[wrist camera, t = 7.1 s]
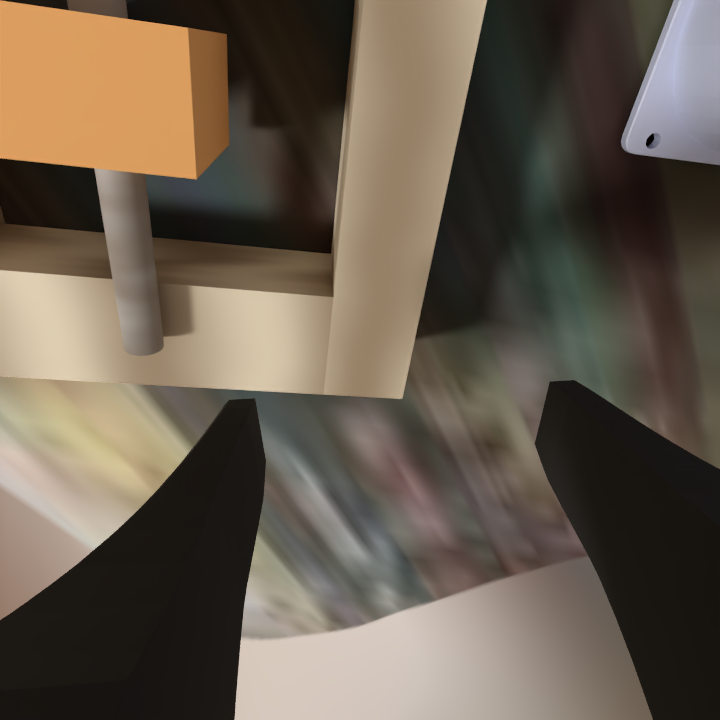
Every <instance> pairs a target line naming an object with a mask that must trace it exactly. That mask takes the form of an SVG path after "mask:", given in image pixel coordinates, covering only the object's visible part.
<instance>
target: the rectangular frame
mask: <svg viewBox="0 0 720 720" xmlns="http://www.w3.org/2000/svg"><path fill="white" fill-rule="evenodd" d="M486 3H487V0H355V6H354V16H353V27H352V37H351V48H350V59H349V69H348V80H347V90H346V101H345V111H344V122H343V133H342V143H341V154H340V164H339V175H338V186H337V196H336V207H335V217H334V228H333V238H332V249H331V254H327V253H316V252H306V251H295V250H284V249H273V248H262V247H252V246H241V245H230V244H219V243H209V242H198V241H187V240H176V239H165V238H155V237H152V231H151V222H150V213H149V204H148V195H147V186H146V177H145V174H143V173H134V172H124V171H115V170H106V169H96V168H94V169H95V175H96V181H97V187H98V193H99V200H100V206H101V212H102V218H103V224H104V230H105V233H101V232H90V231H79V230H68V229H58V228H47V227H36V226H25V225H15V224H5V221H4V217H3V213H2V210H1V206H0V376H2V377H20V378H38V379H56V380H74V381H91V382H109V383H127V384H145V385H163V386H181V387H199V388H217V389H235V390H253V391H271V392H289V393H307V394H325V395H343V396H361V397H379V398H396V399H402V397H403V393H404V388H405V383H406V379H407V374H408V369H409V364H410V360H411V355H412V350H413V346H414V341H415V336H416V332H417V327H418V322H419V318H420V313H421V308H422V303H423V299H424V294H425V289H426V285H427V280H428V275H429V271H430V266H431V261H432V256H433V252H434V247H435V242H436V238H437V233H438V228H439V224H440V219H441V214H442V209H443V205H444V200H445V195H446V191H447V186H448V181H449V177H450V172H451V167H452V162H453V158H454V153H455V148H456V144H457V139H458V134H459V130H460V125H461V120H462V115H463V111H464V106H465V101H466V97H467V92H468V87H469V83H470V78H471V73H472V68H473V64H474V59H475V54H476V50H477V45H478V40H479V36H480V31H481V26H482V22H483V17H484V12H485V7H486ZM67 4H68V10H69V11H76V12H83V13H90V14H97V15H104V16H111V17H118V18H124V19H128V15H127V6H126V0H67Z"/></svg>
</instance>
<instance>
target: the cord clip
mask: <svg viewBox="0 0 720 720" xmlns="http://www.w3.org/2000/svg"><path fill="white" fill-rule="evenodd" d="M228 145H229V113H228V67H227V34H223V33H217V32H211V31H204V30H198V29H192V28H186V27H179V26H172V25H166V24H159V23H152V22H145V21H138V20H131V19H124V18H118V17H111V16H104V15H97V14H90V13H83V12H76V11H69V10H63V9H56V8H49V7H42V6H35V5H28V4H21V3H15V2H8V1H1V0H0V158H3V159H12V160H22V161H31V162H40V163H50V164H59V165H68V166H78V167H87V168H96V169H106V170H115V171H124V172H134V173H143V174H152V175H161V176H171V177H180V178H189V179H197V178H198V177H199V176H200V175H201V174H202V173H203V172H204V171H205V170H206V169H207V168H208V167H209V166H210V164H211V163H212V162H213V161H214V160H215V159H216V158H217V157H218V156H219V155H220V154H221V153H222V152H223V151H224V150H225V148H226V147H227V146H228Z"/></svg>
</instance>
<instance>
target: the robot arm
mask: <svg viewBox="0 0 720 720" xmlns="http://www.w3.org/2000/svg"><path fill="white" fill-rule="evenodd" d="M653 133H654V140H653V142H652V143H651V144H650V145H649V146H648V147H647V146H646V140H647V138H648V137H649V136H650V135H651V134H653ZM621 144H622V148H623V149H624V150H625V151H627V152H629V153H632V154H638V155H645V156H653V157H661V158H669V159H676V160H684V161H692V162H700V163H707V164H715V165H720V0H674V1H673V4H672V7H671V9H670V12H669V14H668V17H667V20H666V22H665V25H664V28H663V30H662V33H661V35H660V38H659V41H658V43H657V46H656V49H655V51H654V54H653V57H652V59H651V62H650V64H649V67H648V70H647V72H646V75H645V78H644V80H643V83H642V85H641V88H640V91H639V93H638V96H637V99H636V101H635V104H634V106H633V109H632V112H631V114H630V117H629V120H628V122H627V125H626V127H625V130H624V133H623V135H622V140H621ZM535 446H536V448H537V451H538V454H539V457H540V460H541V463H542V466H543V468H544V471H545V473H546V476H547V478H548V481H549V483H550V485H551V487H552V489H553V491H554V492H555V494H556V496H557V498H558V500H559V502H560V504H561V506H562V508H563V509H564V511H565V513H566V515H567V517H568V519H569V521H570V522H571V524H572V526H573V528H574V530H575V532H576V534H577V535H578V537H579V539H580V541H581V543H582V545H583V547H584V549H585V550H586V552H587V554H588V556H589V558H590V560H591V562H592V564H593V566H594V568H595V570H596V572H597V574H598V576H599V578H600V580H601V583H602V585H603V587H604V590H605V592H606V595H607V597H608V600H609V602H610V604H611V607H612V609H613V612H614V614H615V617H616V619H617V622H618V624H619V627H620V630H621V632H622V635H623V637H624V640H625V643H626V645H627V648H628V650H629V653H630V655H631V658H632V661H633V663H634V666H635V669H636V672H637V675H638V678H639V681H640V684H641V686H642V689H643V692H644V695H645V697H646V701H647V703H648V706H649V709H650V712H651V715H652V718H653V720H720V469H718V468H716V467H714V466H713V465H711V464H709V463H707V462H705V461H703V460H702V459H700V458H698V457H696V456H695V455H693V454H691V453H689V452H688V451H686V450H684V449H683V448H681V447H679V446H677V445H676V444H674V443H672V442H671V441H669V440H667V439H666V438H664V437H662V436H661V435H659V434H658V433H656V432H654V431H653V430H651V429H650V428H648V427H646V426H645V425H643V424H642V423H640V422H639V421H637V420H636V419H634V418H633V417H631V416H629V415H628V414H626V413H625V412H623V411H622V410H620V409H619V408H617V407H616V406H614V405H613V404H611V403H610V402H608V401H607V400H605V399H604V398H602V397H601V396H599V395H597V394H596V393H594V392H593V391H591V390H590V389H588V388H586V387H585V386H583V385H582V384H580V383H578V382H576V381H574V380H571V381H554V382H550V383H549V388H548V392H547V396H546V400H545V404H544V408H543V412H542V417H541V421H540V425H539V429H538V433H537V437H536V441H535ZM265 466H266V459H265V453H264V448H263V442H262V436H261V430H260V425H259V419H258V413H257V407H256V402H255V399H237V400H229V401H228V402H227V403H226V404H225V405H224V407H223V408H222V409H221V411H220V412H219V414H218V415H217V417H216V418H215V419H214V421H213V422H212V423H211V425H210V426H209V428H208V429H207V430H206V432H205V433H204V434H203V436H202V437H201V438H200V440H199V441H198V442H197V443H196V445H195V446H194V447H193V449H192V450H191V451H190V452H189V454H188V455H187V456H186V457H185V459H184V460H183V461H182V462H181V464H180V465H179V466H178V467H177V468H176V469H175V471H174V472H173V473H172V474H171V475H170V476H169V477H168V478H167V480H166V481H165V482H164V483H163V484H162V485H161V486H160V488H159V489H158V490H157V491H156V492H155V493H154V494H153V495H152V496H151V497H150V498H149V499H148V500H147V502H146V503H145V504H144V505H143V506H142V507H141V508H140V509H139V510H138V511H137V512H136V513H135V514H134V515H133V516H132V517H130V518H129V519H128V520H127V521H126V522H125V523H124V524H123V525H122V526H121V527H120V528H119V529H118V530H117V531H116V532H114V533H113V534H112V535H111V536H110V537H109V538H108V539H106V540H105V541H104V542H103V543H102V544H101V545H99V546H98V547H97V548H96V549H95V550H93V551H92V552H91V553H90V554H89V555H88V556H86V557H85V558H84V559H83V560H82V561H81V562H79V563H78V564H77V565H76V566H74V567H73V568H72V569H71V570H69V571H68V572H67V573H65V574H64V575H63V576H61V577H60V578H59V579H58V580H56V581H55V582H54V583H52V584H51V585H50V586H49V587H47V588H45V589H44V590H43V591H41V592H40V593H39V594H37V595H36V596H34V597H33V598H32V599H30V600H29V601H28V602H26V603H25V604H24V605H22V606H20V607H19V608H18V609H16V610H15V611H13V612H12V613H10V614H9V615H8V616H6V617H4V618H3V619H1V620H0V720H234V716H235V702H236V689H237V676H238V665H239V652H240V641H241V631H242V620H243V609H244V601H245V595H246V588H247V582H248V577H249V572H250V567H251V561H252V556H253V551H254V546H255V541H256V535H257V530H258V525H259V519H260V514H261V509H262V503H263V496H264V482H265Z"/></svg>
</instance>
